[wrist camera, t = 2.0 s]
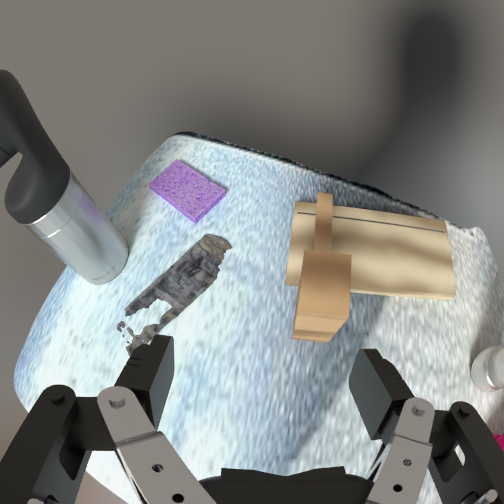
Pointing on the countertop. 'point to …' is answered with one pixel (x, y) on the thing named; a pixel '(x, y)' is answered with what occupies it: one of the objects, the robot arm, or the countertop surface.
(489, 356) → the plastic bottle
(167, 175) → the sponges
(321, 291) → the block
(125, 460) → the robot arm
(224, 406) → the countertop surface
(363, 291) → the pine board
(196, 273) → the driftwood
